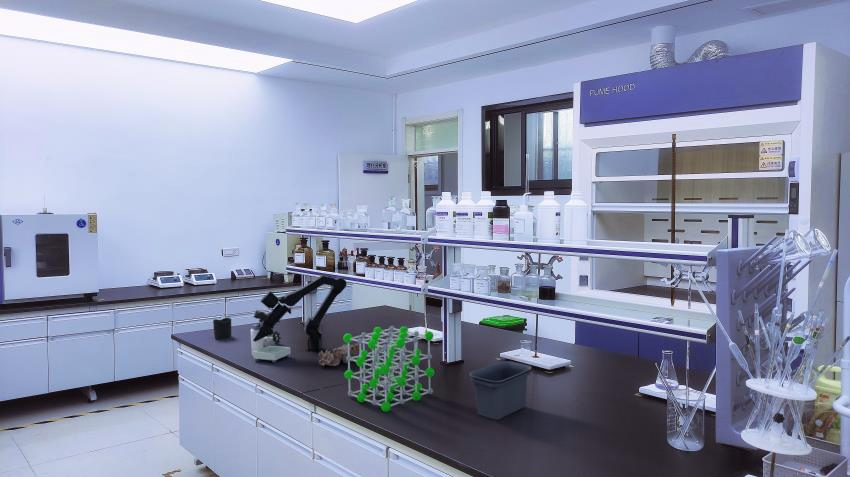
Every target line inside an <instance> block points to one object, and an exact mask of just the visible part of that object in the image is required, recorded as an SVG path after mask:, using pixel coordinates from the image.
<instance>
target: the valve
mask: <svg viewBox="0 0 850 477" xmlns="http://www.w3.org/2000/svg"><path fill="white" fill-rule="evenodd" d="M280 334H281V333H280V332H278V330H275V331H273V334H272V335H271V336H266V337H264V338H262V342H263V348H265V344H267V343H269V342H271V341H273V342H274V343H275V344H279V343H280V342H281V339H282V337H281V336H280Z"/></svg>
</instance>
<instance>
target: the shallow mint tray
mask: <svg viewBox="0 0 850 477" xmlns="http://www.w3.org/2000/svg"><path fill="white" fill-rule="evenodd" d="M291 354H292V353H291V347H289V346H278V345H268V346H264V347H263V348H262V349H259V350H257V351H254V352H253V355H252V358H253V359H254V361H255V362H258V361H260V360H267V361H272V363H273V364H276V363H277V361H278V360H279V359H281V358H284V357H285V358H289V357H290V355H291Z"/></svg>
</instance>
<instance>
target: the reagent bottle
mask: <svg viewBox="0 0 850 477" xmlns="http://www.w3.org/2000/svg"><path fill="white" fill-rule="evenodd" d="M258 332H259V325H258V323H257V324H252V328H251V329H250V345H251V346H250V347H251V356H253V352H254V351H257V350H259V349H262V348H264V347H263V342H262V339H260V340H258V341H256V342H254V341H253V340H254V338H255V337H256V335H257V333H258Z"/></svg>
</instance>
